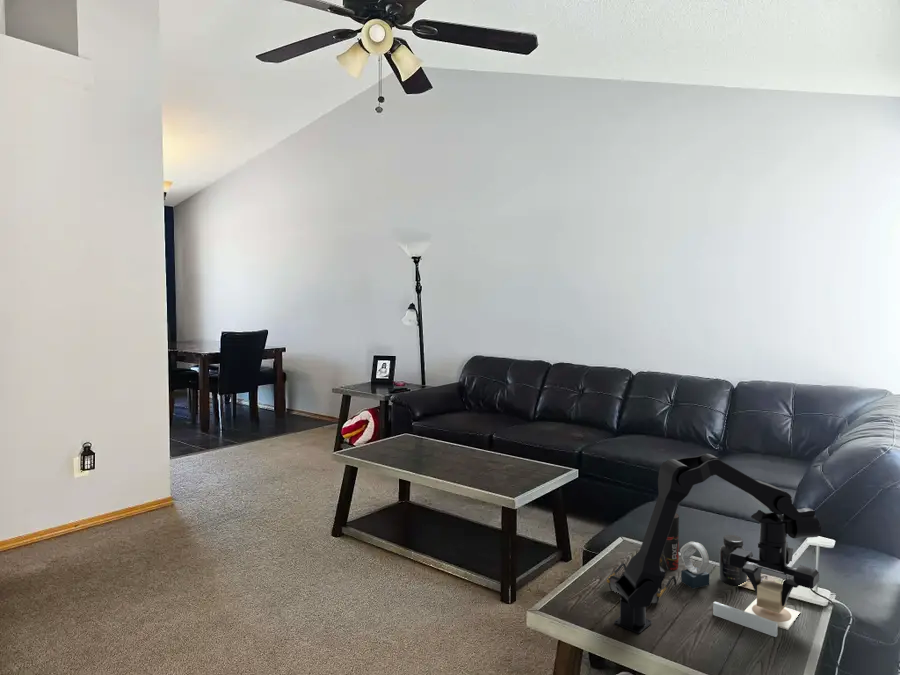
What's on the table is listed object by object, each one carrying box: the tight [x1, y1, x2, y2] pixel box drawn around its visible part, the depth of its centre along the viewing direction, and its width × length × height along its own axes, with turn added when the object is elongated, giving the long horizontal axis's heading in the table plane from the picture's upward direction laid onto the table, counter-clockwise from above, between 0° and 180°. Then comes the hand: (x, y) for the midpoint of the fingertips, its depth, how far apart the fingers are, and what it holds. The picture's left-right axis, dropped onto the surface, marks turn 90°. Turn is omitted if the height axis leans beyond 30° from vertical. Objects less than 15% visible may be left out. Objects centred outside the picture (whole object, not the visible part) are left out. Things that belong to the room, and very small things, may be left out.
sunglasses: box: [606, 562, 677, 605], centre depth 159 cm, size 14×15×5 cm
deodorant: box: [660, 512, 680, 571], centre depth 172 cm, size 6×6×15 cm
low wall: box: [712, 601, 779, 638], centre depth 141 cm, size 1×14×3 cm, turn 45°
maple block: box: [756, 578, 787, 613], centre depth 145 cm, size 5×5×5 cm
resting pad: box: [744, 597, 802, 631], centre depth 146 cm, size 10×10×1 cm
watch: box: [679, 541, 710, 590], centre depth 161 cm, size 6×8×11 cm
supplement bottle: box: [718, 534, 748, 587], centre depth 162 cm, size 7×7×12 cm
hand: (771, 601), depth 145 cm, fingers closed on maple block, 5 cm apart
